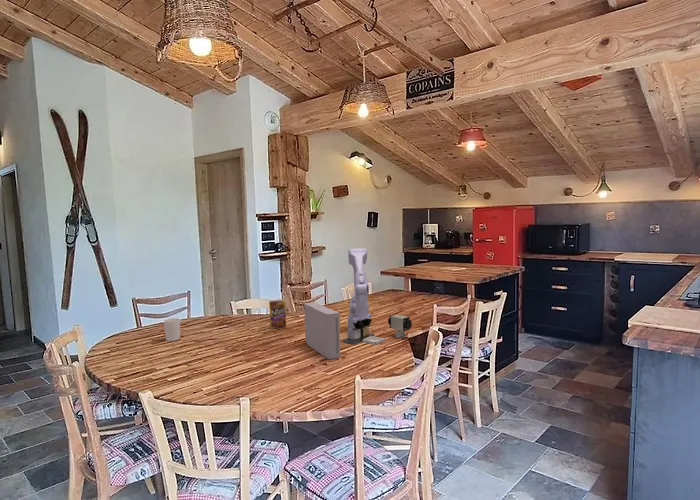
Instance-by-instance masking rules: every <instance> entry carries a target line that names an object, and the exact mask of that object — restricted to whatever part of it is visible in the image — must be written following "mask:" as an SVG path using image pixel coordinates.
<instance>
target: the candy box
mask: <svg viewBox="0 0 700 500" xmlns="http://www.w3.org/2000/svg"><path fill="white" fill-rule="evenodd" d="M286 302H287V300H286V299H282V300H281V299H279V300H269V329H270V330H273V329H276V328H277V329H287V316H286V315H287V311H286V310H287V307H286V306H287V305H286V304H287V303H286ZM277 329H276V330H277Z"/></svg>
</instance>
